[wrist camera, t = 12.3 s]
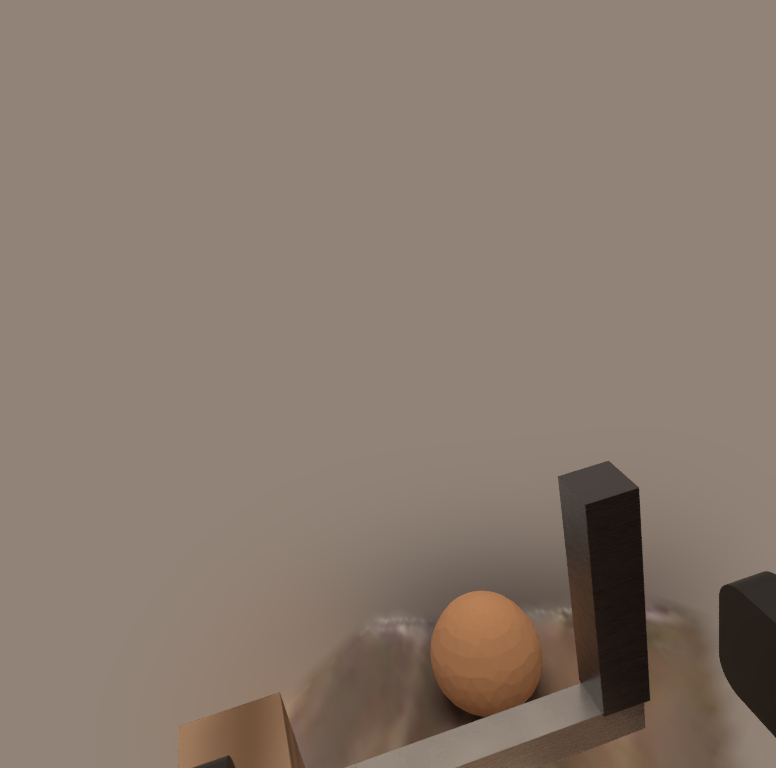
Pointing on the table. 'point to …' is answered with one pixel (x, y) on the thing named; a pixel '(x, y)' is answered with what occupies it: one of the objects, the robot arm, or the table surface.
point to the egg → (485, 654)
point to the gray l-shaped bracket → (593, 646)
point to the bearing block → (242, 737)
